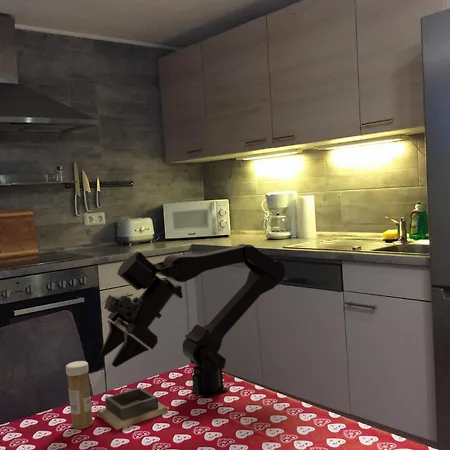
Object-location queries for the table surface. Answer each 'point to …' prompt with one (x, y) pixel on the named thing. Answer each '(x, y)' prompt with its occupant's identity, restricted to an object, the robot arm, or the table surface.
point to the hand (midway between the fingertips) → (107, 360)
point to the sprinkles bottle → (79, 394)
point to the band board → (131, 408)
